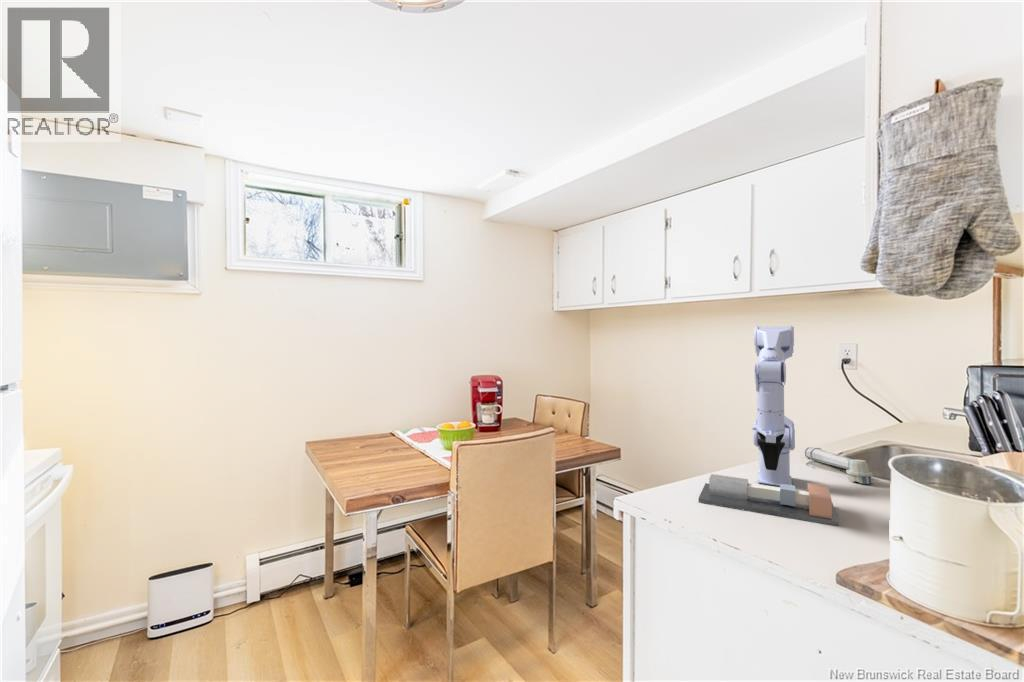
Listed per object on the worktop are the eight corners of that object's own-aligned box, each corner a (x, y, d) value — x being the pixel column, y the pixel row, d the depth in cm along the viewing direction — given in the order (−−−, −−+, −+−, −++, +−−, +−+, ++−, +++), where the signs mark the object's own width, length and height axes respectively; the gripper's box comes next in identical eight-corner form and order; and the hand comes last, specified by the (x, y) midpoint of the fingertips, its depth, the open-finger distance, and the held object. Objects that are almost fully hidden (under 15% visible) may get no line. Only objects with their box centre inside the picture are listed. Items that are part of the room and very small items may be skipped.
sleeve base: (705, 486, 119) (705, 468, 119) (832, 506, 104) (832, 485, 104) (698, 502, 109) (698, 482, 109) (837, 526, 94) (837, 503, 94)
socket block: (807, 499, 106) (807, 482, 106) (827, 502, 104) (827, 485, 104) (809, 515, 98) (809, 496, 98) (831, 518, 96) (831, 499, 95)
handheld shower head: (818, 446, 142) (876, 458, 117) (820, 467, 141) (878, 484, 116) (801, 446, 142) (855, 458, 118) (803, 467, 142) (858, 484, 117)
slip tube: (741, 492, 111) (740, 478, 111) (817, 503, 103) (817, 488, 102) (739, 497, 108) (739, 483, 107) (819, 510, 99) (818, 494, 99)
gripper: (752, 404, 115) (753, 455, 115) (750, 414, 103) (751, 471, 103) (784, 405, 111) (784, 458, 112) (786, 416, 99) (786, 475, 99)
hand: (771, 465), depth 107 cm, fingers open, 7 cm apart
